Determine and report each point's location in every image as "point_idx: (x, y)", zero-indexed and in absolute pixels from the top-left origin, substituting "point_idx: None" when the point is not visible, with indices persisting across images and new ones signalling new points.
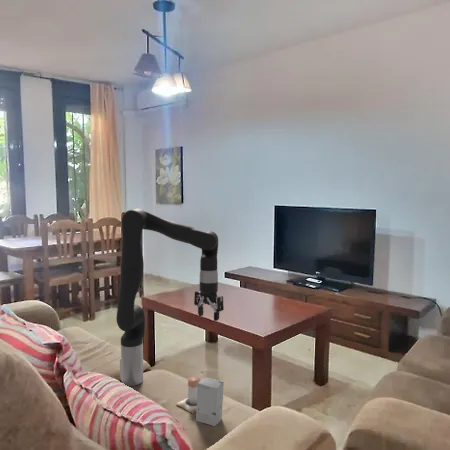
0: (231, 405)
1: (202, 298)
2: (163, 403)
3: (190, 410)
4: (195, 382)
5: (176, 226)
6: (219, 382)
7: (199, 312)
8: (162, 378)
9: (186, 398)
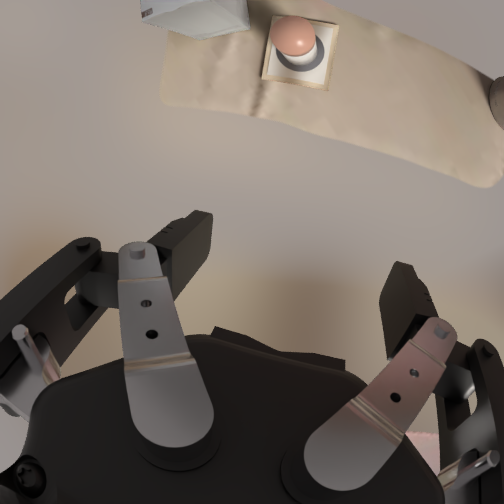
0: (209, 99)
1: (367, 432)
2: (375, 22)
3: (282, 16)
4: (275, 22)
5: None
6: (148, 9)
7: (408, 281)
8: (459, 144)
9: (330, 57)
